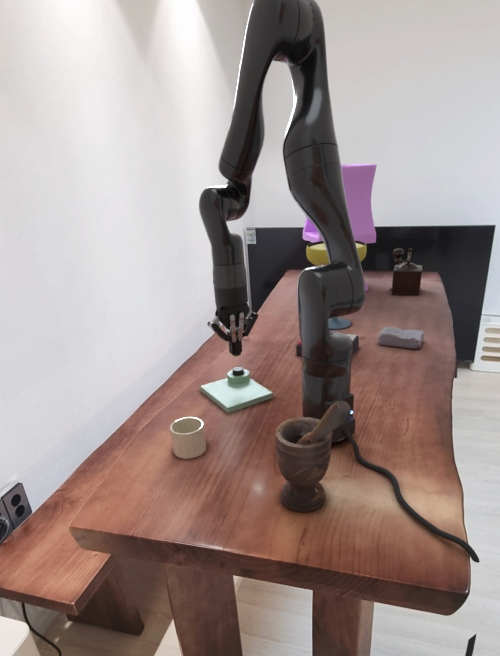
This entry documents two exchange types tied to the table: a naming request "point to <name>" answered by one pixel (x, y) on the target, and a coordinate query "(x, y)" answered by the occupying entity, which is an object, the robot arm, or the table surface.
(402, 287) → the coffee grinder
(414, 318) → the table surface
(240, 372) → the button
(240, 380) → the scale
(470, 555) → the robot arm
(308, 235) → the chair
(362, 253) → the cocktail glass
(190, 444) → the cup
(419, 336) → the stone block
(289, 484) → the mortar and pestle
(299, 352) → the calculator
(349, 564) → the table surface
